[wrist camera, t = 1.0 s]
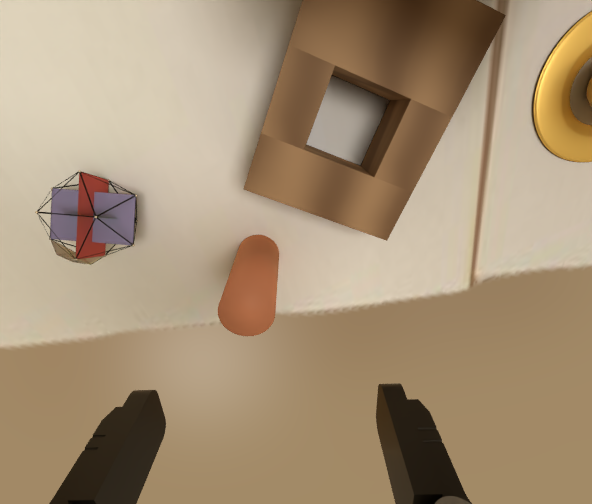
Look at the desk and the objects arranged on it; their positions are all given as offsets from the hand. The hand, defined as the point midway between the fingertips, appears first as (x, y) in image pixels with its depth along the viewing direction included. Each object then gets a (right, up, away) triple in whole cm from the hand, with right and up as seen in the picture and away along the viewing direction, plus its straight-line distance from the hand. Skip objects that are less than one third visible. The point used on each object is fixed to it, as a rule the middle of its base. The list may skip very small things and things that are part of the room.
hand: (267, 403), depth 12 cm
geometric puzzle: (-16, +10, +18) cm, 26 cm away
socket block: (+5, +16, +15) cm, 23 cm away
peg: (-3, +5, +20) cm, 21 cm away
